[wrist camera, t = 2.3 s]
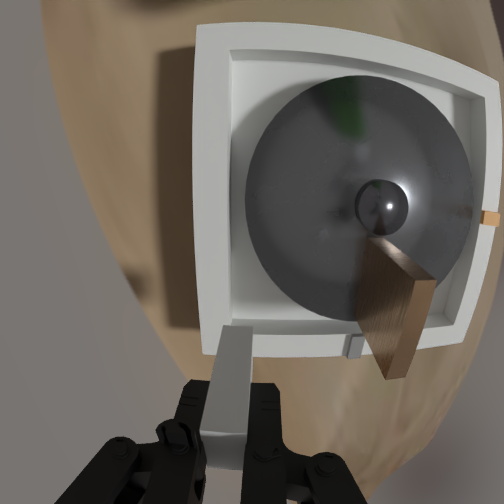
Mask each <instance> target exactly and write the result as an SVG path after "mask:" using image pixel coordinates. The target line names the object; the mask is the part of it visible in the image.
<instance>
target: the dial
mask: <svg viewBox="0 0 504 504" xmlns="http://www.w3.org/2000/svg"><path fill="white" fill-rule="evenodd" d="M245 212H246V221H247V226H248V231H249V236H250V239H251V242H252V245H253V247H254V250H255V253H256V255H257V257H258V259H259V261H260V263H261V265H262V267H263V268H264V270H265V271H266V272H267V274H268V275H269V277H270V278H271V280H272V281H273V282H274V283H275V284H276V285H277V286H278V288H279V289H280V290H281V291H282V292H283V293H285V294H286V295H287V296H288V297H289V298H290V299H292V300H293V301H294V302H296V303H297V304H299V305H300V306H302V307H304V308H305V309H307V310H309V311H311V312H314V313H316V314H318V315H321V316H324V317H327V318H331V319H335V320H341V321H352V322H357V323H358V325H359V327H360V329H361V331H362V333H363V335H364V337H365V339H366V341H367V343H368V345H369V347H370V349H371V351H372V353H373V355H374V357H375V359H376V361H377V363H378V366H379V368H380V370H381V372H382V374H383V376H384V378H385V380H389V379H396V378H403V377H405V376H406V374H407V372H408V369H409V367H410V364H411V362H412V359H413V356H414V354H415V351H416V348H417V345H418V343H419V340H420V337H421V334H422V331H423V328H424V325H425V322H426V319H427V315H428V312H429V309H430V305H431V302H432V298H433V294H434V290H435V289H436V288H437V286H438V285H439V284H440V283H441V282H442V281H443V280H444V279H445V277H446V276H447V275H448V273H449V272H450V271H451V269H452V268H453V266H454V265H455V263H456V261H457V259H458V258H459V256H460V254H461V251H462V249H463V247H464V245H465V242H466V239H467V236H468V232H469V229H470V224H471V219H472V212H473V182H472V175H471V170H470V166H469V162H468V158H467V155H466V153H465V150H464V147H463V145H462V143H461V141H460V139H459V137H458V135H457V133H456V131H455V130H454V128H453V127H452V125H451V124H450V122H449V121H448V120H447V118H446V117H445V116H444V115H443V114H442V113H441V112H440V110H439V109H438V108H437V107H436V106H435V105H434V104H432V103H431V102H430V101H429V100H428V99H426V98H425V97H424V96H422V95H421V94H419V93H418V92H416V91H415V90H413V89H411V88H409V87H407V86H405V85H403V84H401V83H398V82H396V81H392V80H389V79H386V78H382V77H375V76H368V75H353V76H344V77H338V78H333V79H330V80H327V81H324V82H321V83H319V84H316V85H314V86H312V87H310V88H309V89H307V90H305V91H303V92H301V93H300V94H299V95H297V96H296V97H295V98H293V99H292V100H291V101H289V102H288V103H287V104H286V105H285V106H284V107H283V108H282V109H281V110H280V111H279V112H278V113H277V114H276V115H275V117H274V118H273V119H272V121H271V122H270V123H269V125H268V126H267V127H266V129H265V130H264V132H263V134H262V136H261V138H260V140H259V142H258V144H257V145H256V148H255V151H254V153H253V156H252V159H251V162H250V165H249V170H248V175H247V179H246V190H245Z"/></svg>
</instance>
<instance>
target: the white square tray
mask: <svg viewBox="0 0 504 504" xmlns="http://www.w3.org/2000/svg"><path fill="white" fill-rule="evenodd" d="M353 75H368V76H375V77H382V78H386V79H389V80H392V81H396V82H398V83H401V84H403V85H405V86H407V87H409V88H411V89H413V90H415V91H416V92H418V93H419V94H421V95H422V96H424V97H425V98H426V99H428V100H429V101H430V102H431V103H432V104H434V105H435V106H436V107H437V108H438V109H439V110H440V112H441V113H442V114H443V115H444V116H445V117H446V118H447V120H448V121H449V122H450V124H451V125H452V127H453V128H454V130H455V131H456V133H457V135H458V137H459V139H460V141H461V143H462V145H463V147H464V150H465V153H466V155H467V158H468V162H469V166H470V170H471V175H472V182H473V212H472V219H471V224H470V229H469V232H468V236H467V239H466V242H465V245H464V247H463V249H462V251H461V254H460V256H459V258H458V259H457V261H456V263H455V265H454V266H453V268H452V269H451V271H450V272H449V273H448V275H447V276H446V277H445V279H444V280H443V281H442V282H441V283H440V284H439V285H438V286H437V288H436V289H435V290H434V294H433V298H432V302H431V305H430V309H429V312H428V315H427V319H426V322H425V325H424V328H423V331H422V334H421V337H420V340H419V343H418V345H417V348H416V349H423V348H430V347H437V346H443V345H449V344H455V343H461V342H463V339H464V337H465V334H466V331H467V329H468V326H469V323H470V321H471V318H472V315H473V312H474V309H475V306H476V303H477V300H478V297H479V294H480V290H481V287H482V283H483V280H484V276H485V272H486V268H487V264H488V260H489V256H490V251H491V246H492V241H493V236H494V231H495V226H498V227H499V220H500V213H497V211H498V204H499V195H500V184H501V170H502V116H501V102H500V92H499V83H498V81H496V80H494V79H492V78H490V77H488V76H486V75H484V74H482V73H480V72H478V71H476V70H474V69H472V68H470V67H467V66H465V65H463V64H460V63H458V62H456V61H453V60H451V59H448V58H446V57H443V56H441V55H438V54H435V53H433V52H430V51H427V50H424V49H421V48H418V47H415V46H412V45H408V44H405V43H401V42H398V41H394V40H391V39H387V38H383V37H378V36H374V35H370V34H365V33H360V32H355V31H350V30H344V29H338V28H331V27H323V26H315V25H305V24H293V23H275V22H234V23H216V24H204V25H197V32H196V47H195V64H194V87H193V125H192V179H193V219H194V243H195V262H196V279H197V293H198V306H199V319H200V330H201V340H202V350H203V354H209V355H216V354H217V349H218V345H219V340H220V336H221V332H222V327H223V325H231V326H253V357H329V356H347V359H355V358H360V357H361V355H365V354H373V353H372V351H371V349H370V347H369V345H368V343H367V341H366V339H365V337H364V335H363V333H362V331H361V329H360V327H359V325H358V323H357V322H352V321H341V320H335V319H331V318H327V317H324V316H321V315H318V314H316V313H314V312H311V311H309V310H307V309H305V308H304V307H302V306H300V305H299V304H297V303H296V302H294V301H293V300H292V299H290V298H289V297H288V296H287V295H286V294H285V293H283V292H282V291H281V290H280V289H279V288H278V286H277V285H276V284H275V283H274V282H273V281H272V280H271V278H270V277H269V275H268V274H267V272H266V271H265V270H264V268H263V267H262V265H261V263H260V261H259V259H258V257H257V255H256V253H255V250H254V247H253V245H252V242H251V239H250V236H249V231H248V226H247V221H246V212H245V190H246V179H247V175H248V170H249V165H250V162H251V159H252V156H253V153H254V151H255V148H256V145H257V144H258V142H259V140H260V138H261V136H262V134H263V132H264V130H265V129H266V127H267V126H268V125H269V123H270V122H271V121H272V119H273V118H274V117H275V115H276V114H277V113H278V112H279V111H280V110H281V109H282V108H283V107H284V106H285V105H286V104H287V103H288V102H289V101H291V100H292V99H293V98H295V97H296V96H297V95H299V94H300V93H301V92H303V91H305V90H307V89H309V88H310V87H312V86H314V85H316V84H319V83H321V82H324V81H327V80H330V79H333V78H338V77H344V76H353Z"/></svg>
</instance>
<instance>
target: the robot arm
mask: <svg viewBox="0 0 504 504" xmlns="http://www.w3.org/2000/svg"><path fill="white" fill-rule="evenodd" d="M252 368H253V326H231V325H223V327H222V332H221V336H220V340H219V345H218V349H217V354H216V358H215V362H214V367H213V371H212V376H211V380H210V381H202V380H192V379H191V380H190V381H189V382H188V383H187V384H186V385H185V386H184V388H183V391H182V394H181V398H180V400H179V405H178V407H177V410H176V413H175V416H174V419H169V420H166V421H164V422H162V423H161V424H159V425H158V427H157V428H156V433H157V436H158V438H159V441H158V442H155V443H146V444H136V443H135V442H134V441H133V440H131V439H130V438H126V437H115V438H112V439H110V440H109V441H107V442H106V443H105V445H104V446H103V447H102V448H101V449H100V451H99V452H98V453H97V454H96V455H95V456H94V458H93V459H92V460H91V461H90V462H89V463H88V465H87V466H86V467H85V468H84V469H83V471H82V472H81V473H80V474H79V476H77V478H76V479H75V480H74V481H73V482H72V484H71V485H70V486H69V487H68V488H67V489H66V491H65V492H64V493H63V494H62V495H61V496H60V498H59V499H58V500H57V501H56V502H55V503H54V504H202V501H203V495H204V489H205V483H206V475H205V469H206V463H207V467H208V468H217V469H230V470H243V477H242V490H241V502H240V504H287V502H286V499H289V500H293V501H297V503H298V504H367V502H366V500H365V498H364V496H363V494H362V493H361V491H360V489H359V487H358V485H357V484H356V482H355V480H354V478H353V476H352V474H351V472H350V471H349V469H348V467H347V465H346V463H345V461H344V460H343V459H342V458H341V457H340V456H338V455H336V454H335V453H330V452H323V453H318V454H316V455H314V456H312V457H310V456H305V455H300V454H297V453H294V452H292V451H291V450H289V449H288V448H287V447H286V446H285V444H284V443H283V439H282V425H281V406H280V391H279V390H278V388H277V387H276V385H275V384H274V383H252Z"/></svg>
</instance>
